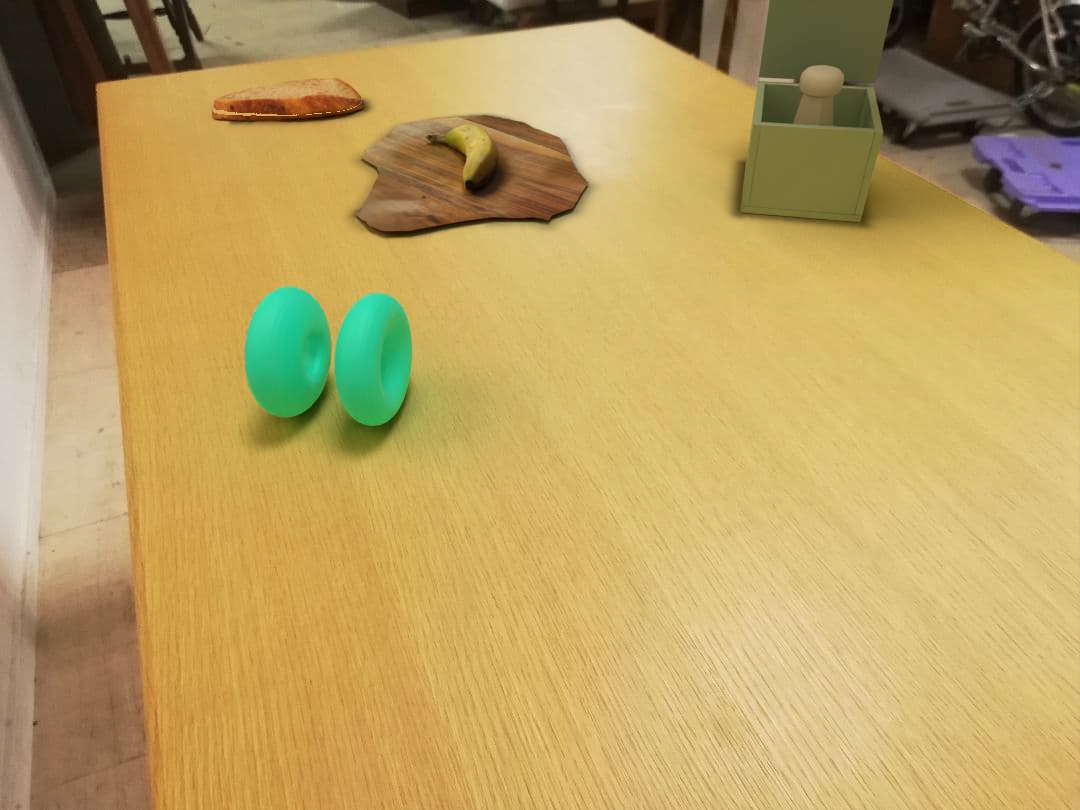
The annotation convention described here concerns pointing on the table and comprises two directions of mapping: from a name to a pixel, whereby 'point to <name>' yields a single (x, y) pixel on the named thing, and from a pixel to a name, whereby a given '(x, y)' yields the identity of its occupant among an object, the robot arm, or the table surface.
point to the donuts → (328, 355)
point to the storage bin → (811, 155)
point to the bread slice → (291, 100)
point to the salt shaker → (818, 95)
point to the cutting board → (468, 173)
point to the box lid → (825, 37)
